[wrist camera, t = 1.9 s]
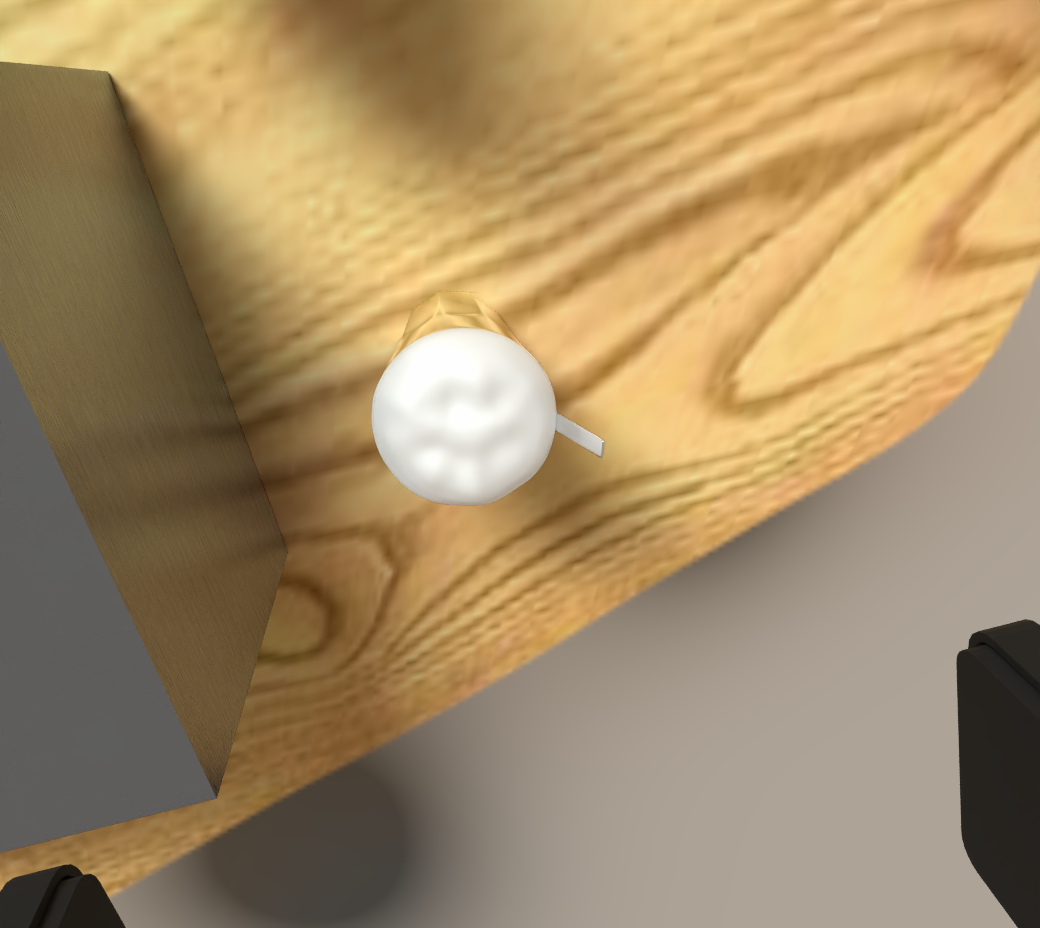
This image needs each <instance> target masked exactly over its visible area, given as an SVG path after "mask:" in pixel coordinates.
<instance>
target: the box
mask: <svg viewBox="0 0 1040 928" xmlns="http://www.w3.org/2000/svg"><path fill="white" fill-rule="evenodd" d="M287 554H288V551H287V549H286V546H285V543H284V541H283V538H282V535H281V533H280V530H279V527H278V525H277V522H276V519H275V517H274V514H273V511H272V509H271V506H270V503H269V501H268V498H267V495H266V493H265V490H264V487H263V485H262V482H261V479H260V477H259V474H258V471H257V468H256V466H255V463H254V460H253V458H252V455H251V452H250V450H249V447H248V444H247V442H246V439H245V436H244V434H243V431H242V428H241V426H240V423H239V420H238V418H237V415H236V412H235V410H234V407H233V404H232V402H231V399H230V396H229V394H228V391H227V388H226V386H225V383H224V380H223V378H222V375H221V372H220V370H219V367H218V364H217V362H216V359H215V356H214V354H213V351H212V348H211V346H210V343H209V340H208V338H207V335H206V332H205V330H204V327H203V324H202V322H201V319H200V316H199V314H198V311H197V308H196V306H195V303H194V300H193V298H192V295H191V292H190V290H189V287H188V284H187V282H186V279H185V276H184V274H183V271H182V268H181V266H180V263H179V260H178V258H177V255H176V252H175V250H174V247H173V244H172V242H171V239H170V236H169V234H168V231H167V228H166V226H165V223H164V220H163V218H162V215H161V212H160V210H159V207H158V204H157V202H156V199H155V196H154V194H153V191H152V188H151V186H150V183H149V180H148V178H147V175H146V172H145V170H144V167H143V164H142V162H141V159H140V156H139V154H138V151H137V148H136V146H135V143H134V140H133V138H132V135H131V132H130V130H129V127H128V124H127V122H126V119H125V116H124V114H123V111H122V108H121V106H120V103H119V100H118V98H117V95H116V92H115V90H114V87H113V84H112V82H111V79H110V76H109V74H108V72H106V71H95V70H85V69H74V68H63V67H53V66H42V65H31V64H21V63H10V62H0V853H1V852H5V851H9V850H13V849H17V848H21V847H25V846H29V845H33V844H37V843H41V842H45V841H49V840H53V839H57V838H61V837H65V836H69V835H73V834H77V833H81V832H85V831H89V830H93V829H97V828H101V827H105V826H109V825H113V824H117V823H121V822H125V821H129V820H133V819H137V818H141V817H145V816H149V815H153V814H157V813H161V812H164V811H168V810H172V809H176V808H180V807H184V806H188V805H192V804H196V803H200V802H204V801H208V800H212V799H216V798H217V796H218V792H219V789H220V785H221V782H222V778H223V775H224V771H225V768H226V764H227V761H228V758H229V754H230V751H231V747H232V744H233V740H234V737H235V733H236V730H237V727H238V723H239V720H240V716H241V713H242V709H243V706H244V702H245V699H246V696H247V692H248V689H249V685H250V682H251V678H252V675H253V671H254V668H255V665H256V661H257V658H258V654H259V651H260V647H261V644H262V640H263V637H264V634H265V630H266V627H267V623H268V620H269V616H270V613H271V609H272V606H273V603H274V599H275V596H276V592H277V589H278V585H279V582H280V578H281V575H282V572H283V568H284V565H285V561H286V558H287Z"/></svg>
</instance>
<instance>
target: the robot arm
mask: <svg viewBox="0 0 1040 928" xmlns="http://www.w3.org/2000/svg"><path fill="white" fill-rule="evenodd" d="M957 695H958V728H959V729H958V730H959V763H960V796H961V797H960V798H961V831H962V840H963V843H964V847H965V849H966V852H967V854H968V857H969V858H970V861H971V863H972V865H973V866H974V868H975V869H976V871H977V873H978V874H979V875H980V877H981V878H982V879H983V881H984V882H985V883H986V885H987V886H988V887H989V889H990V890H991V892H992V893H993V894H994V896H995V897H996V898H997V900H998V901H999V903H1000V904H1001V905H1002V907H1003V908H1004V909H1005V911H1006V912H1007V913H1008V915H1009V916H1010V918H1011V919H1012V920H1013V921H1014V923H1015V924H1016V926H1017V927H1018V928H1040V625H1039V624H1037V623H1036V622H1034V621H1031V620H1026V619H1025V620H1022V621H1017V622H1014V623H1010V624H1006V625H1002V626H998V627H994V628H990V629H986V630H982V631H978V632H976V633H974V634H972V636H971V638H970V639H969V647H968V649H966V650H962V651H960V652H959V654H958V655H957ZM0 928H125V926H124V924H123V922H122V921H121V919H120V917H119V915H118V913H117V912H116V910H115V908H114V906H113V905H112V903H111V901H110V899H109V897H108V896H107V894H106V892H105V890H104V889H103V887H102V885H101V883H100V882H99V880H98V879H97V878H96V877H95V876H94V875H92V874H86V875H83V874H82V873H81V871H80V870H79V869H78V868H77V867H75V866H73V865H71V864H70V865H62V866H58V867H54V868H51V869H47V870H43V871H39V872H35V873H31V874H27V875H23V876H19V877H15V878H13V879H12V880H10V881H9V882H7V883H6V884H5V886H4V887H3V889H2V890H1V891H0Z"/></svg>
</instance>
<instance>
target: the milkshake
mask: <svg viewBox="0 0 1040 928" xmlns="http://www.w3.org/2000/svg"><path fill="white" fill-rule="evenodd" d="M372 429H373V434H374V439H375V442H376V445H377V448H378V451H379V453H380V455H381V457H382V459H383V460H384V462H385V464H386V465H387V467H388V468H389V469H390V471H391V472H392V473H393V474H394V476H395V477H396V478H397V479H398V480H399V481H400V482H401V483H402V484H403V485H404V486H405V487H406V488H407V489H409V490H410V491H411V492H413V493H414V494H416V495H418V496H420V497H422V498H424V499H426V500H429V501H432V502H436V503H441V504H448V505H466V506H477V505H485V504H489V503H492V502H495V501H497V500H499V499H501V498H503V497H504V496H506V495H508V494H509V493H511V492H512V491H514V490H515V489H517V488H518V487H520V486H521V485H523V484H524V483H525V482H527V481H528V480H529V479H531V478H532V477H533V476H534V475H535V474H536V473H537V472H538V470H539V469H540V468H541V466H542V465H543V463H544V462H545V460H546V458H547V456H548V454H549V451H550V449H551V446H552V443H553V439H554V435H555V431H557V432H559V433H560V434H562V435H564V436H565V437H567V438H569V439H570V440H572V441H573V442H575V443H577V444H578V445H580V446H582V447H583V448H585V449H587V450H588V451H590V452H592V453H593V454H595V455H597V456H598V457H600V458H602V457H603V453H604V440H603V439H602V438H600V437H598V436H597V435H595V434H593V433H592V432H590V431H588V430H586V429H585V428H583V427H581V426H579V425H578V424H576V423H574V422H573V421H571V420H569V419H567V418H566V417H564V416H562V415H560V414H559V413H557V411H556V402H555V396H554V392H553V388H552V385H551V383H550V380H549V378H548V376H547V374H546V373H545V371H544V370H543V368H542V367H541V365H540V364H539V363H538V362H537V360H536V359H535V358H534V357H533V356H532V355H531V354H530V353H529V352H528V351H527V350H526V349H525V348H524V347H523V345H522V344H521V343H520V342H519V341H518V340H517V339H516V337H515V336H514V335H513V333H512V332H511V331H510V329H509V328H508V327H507V326H506V324H505V323H504V322H503V320H502V319H501V318H500V316H499V315H498V314H497V312H496V311H495V310H493V309H492V308H491V307H489V306H488V305H487V304H485V303H484V302H483V301H481V300H480V299H479V298H478V297H476V296H475V295H474V294H472V293H471V292H452V291H438V292H437V293H435V294H434V295H432V296H431V297H430V298H428V299H427V300H425V301H424V302H422V303H421V304H419V305H418V306H416V307H415V308H413V309H412V312H411V314H410V317H409V320H408V323H407V325H406V328H405V330H404V333H403V336H402V338H401V341H400V343H399V345H398V347H397V349H396V351H395V352H394V354H393V356H392V358H391V360H390V362H389V364H388V365H387V367H386V369H385V371H384V373H383V375H382V377H381V379H380V381H379V383H378V385H377V388H376V390H375V393H374V398H373V403H372Z"/></svg>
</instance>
